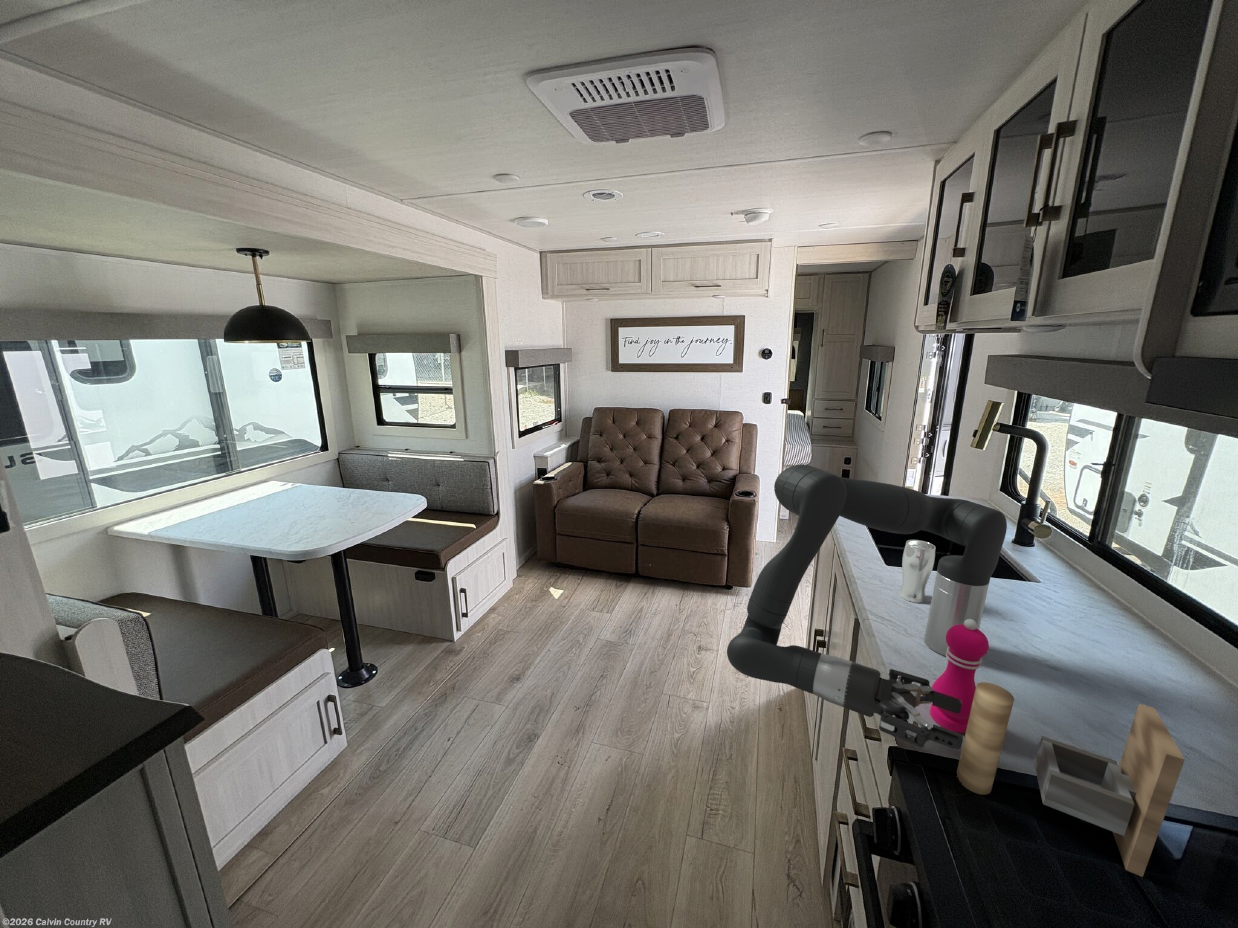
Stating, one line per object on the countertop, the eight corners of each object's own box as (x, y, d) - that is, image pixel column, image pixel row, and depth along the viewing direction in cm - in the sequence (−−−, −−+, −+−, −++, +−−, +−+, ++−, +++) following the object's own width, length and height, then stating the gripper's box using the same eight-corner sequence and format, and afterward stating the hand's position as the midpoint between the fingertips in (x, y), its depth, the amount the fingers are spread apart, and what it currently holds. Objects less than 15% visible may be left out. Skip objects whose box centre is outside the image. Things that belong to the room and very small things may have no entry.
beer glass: (926, 606, 125) (936, 552, 121) (895, 599, 128) (904, 546, 124) (926, 595, 130) (936, 543, 127) (897, 588, 134) (905, 537, 130)
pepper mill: (929, 699, 92) (948, 604, 87) (976, 717, 87) (999, 618, 82) (923, 721, 86) (943, 621, 81) (973, 742, 82) (997, 637, 77)
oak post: (956, 764, 77) (975, 678, 73) (990, 778, 75) (1012, 689, 71) (956, 785, 74) (977, 695, 70) (992, 799, 72) (1016, 707, 68)
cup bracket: (1027, 779, 75) (1054, 679, 71) (1119, 814, 69) (1154, 708, 65) (1037, 832, 67) (1069, 722, 62) (1142, 876, 61) (1184, 759, 57)
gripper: (841, 688, 76) (967, 733, 67) (855, 643, 87) (964, 676, 79) (835, 728, 78) (958, 778, 69) (849, 679, 89) (956, 716, 81)
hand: (961, 724), depth 74 cm, fingers open, 8 cm apart
